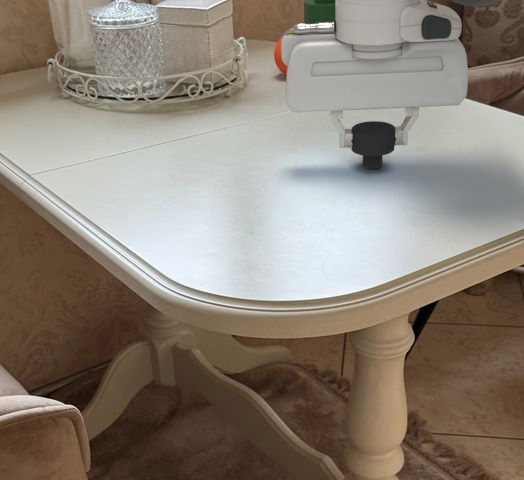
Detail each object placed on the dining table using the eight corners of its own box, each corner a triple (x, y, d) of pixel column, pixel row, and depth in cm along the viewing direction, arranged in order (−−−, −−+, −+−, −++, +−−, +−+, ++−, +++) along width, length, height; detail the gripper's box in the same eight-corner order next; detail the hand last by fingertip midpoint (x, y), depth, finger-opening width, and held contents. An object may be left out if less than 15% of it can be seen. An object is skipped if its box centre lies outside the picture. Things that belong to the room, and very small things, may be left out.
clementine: (266, 73, 131) (264, 27, 127) (304, 67, 133) (303, 22, 129) (284, 84, 124) (283, 37, 120) (324, 78, 126) (324, 31, 122)
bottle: (349, 85, 123) (350, -36, 113) (351, 98, 117) (353, -28, 107) (305, 87, 123) (303, -34, 113) (305, 100, 117) (303, -26, 108)
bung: (391, 157, 96) (392, 120, 93) (395, 172, 92) (397, 134, 89) (349, 158, 96) (350, 121, 93) (352, 174, 92) (353, 136, 89)
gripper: (279, 30, 83) (284, 158, 90) (477, 21, 82) (465, 151, 89) (280, 18, 88) (284, 139, 96) (466, 8, 87) (455, 132, 94)
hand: (373, 145), depth 92 cm, fingers closed on bung, 5 cm apart
